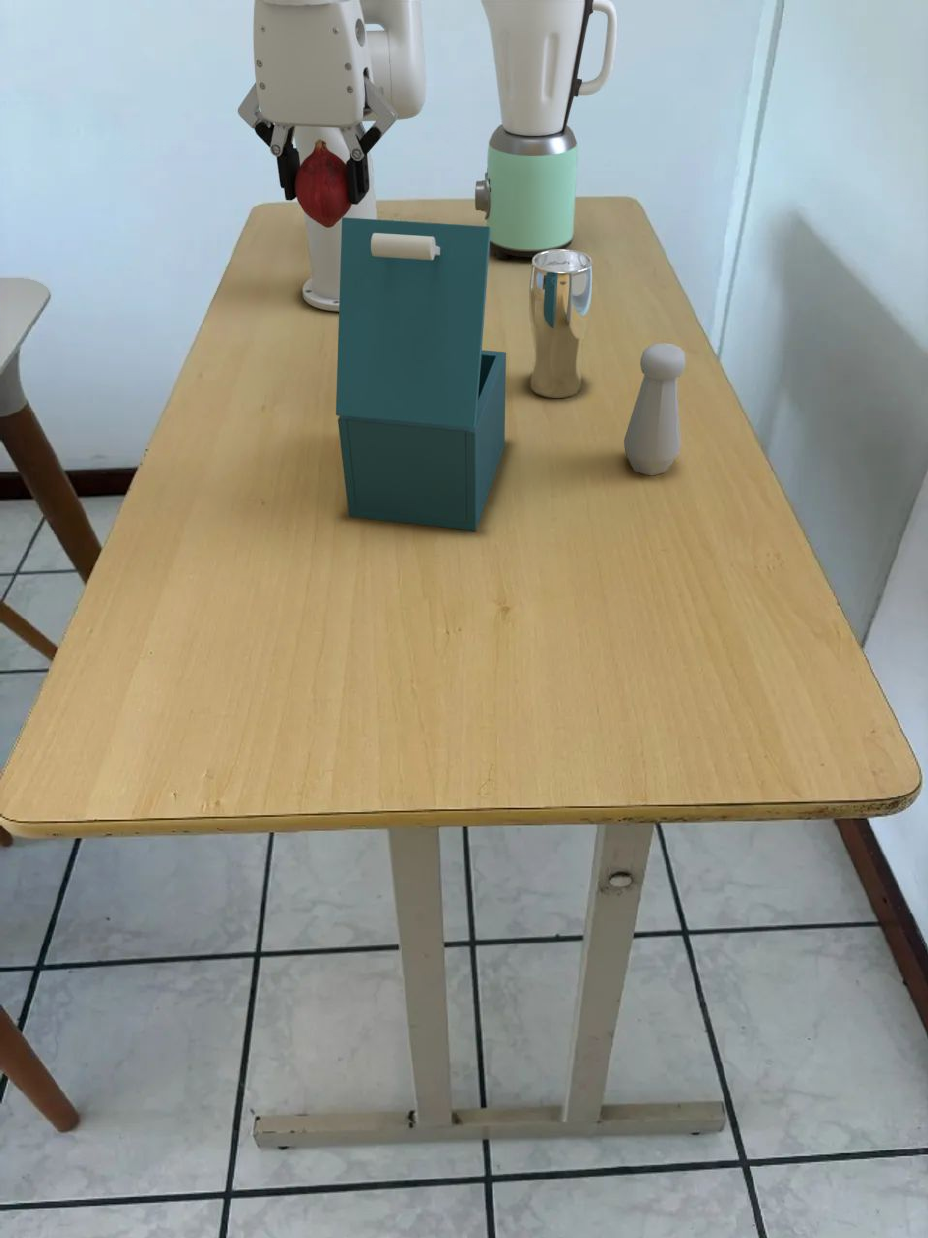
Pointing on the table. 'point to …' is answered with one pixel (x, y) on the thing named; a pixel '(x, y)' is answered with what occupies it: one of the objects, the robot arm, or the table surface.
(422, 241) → the lid
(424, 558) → the table surface
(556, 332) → the beer glass
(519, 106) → the mint green blender
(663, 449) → the salt shaker
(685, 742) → the table surface
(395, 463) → the cool box
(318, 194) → the onion
